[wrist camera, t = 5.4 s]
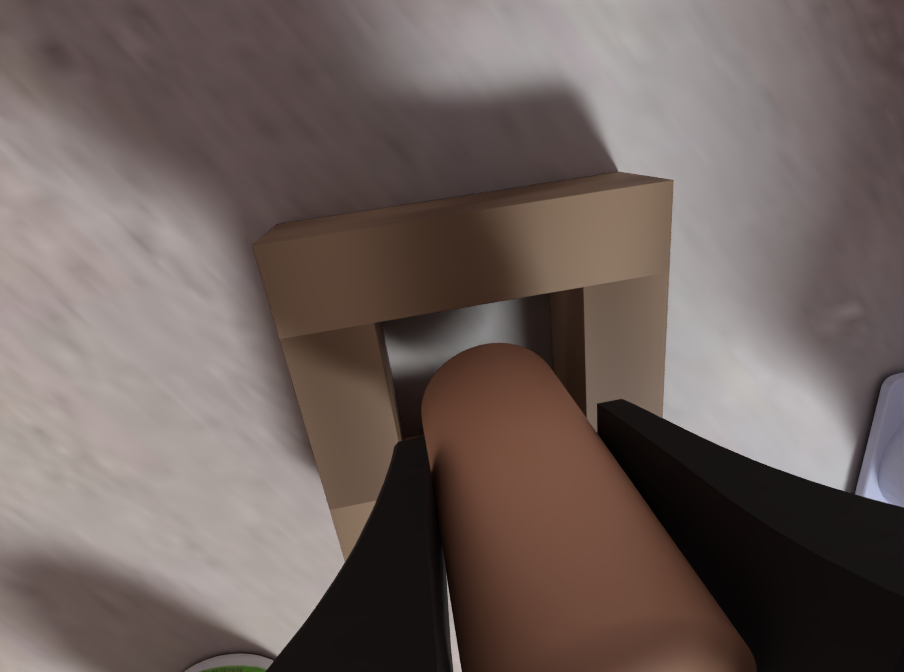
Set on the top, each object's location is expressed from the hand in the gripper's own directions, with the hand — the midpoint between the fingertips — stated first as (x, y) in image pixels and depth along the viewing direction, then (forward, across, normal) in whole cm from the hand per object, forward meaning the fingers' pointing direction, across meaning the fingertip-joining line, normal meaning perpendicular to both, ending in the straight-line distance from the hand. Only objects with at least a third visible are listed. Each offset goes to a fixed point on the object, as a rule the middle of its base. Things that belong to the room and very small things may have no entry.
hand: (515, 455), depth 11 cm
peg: (+3, 0, 0) cm, 3 cm away
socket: (+6, 0, 0) cm, 6 cm away
